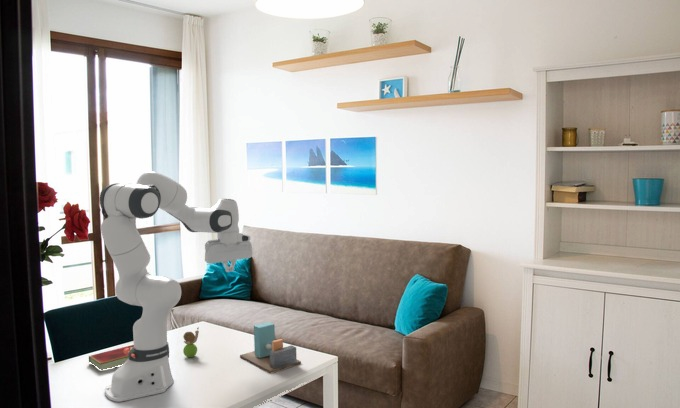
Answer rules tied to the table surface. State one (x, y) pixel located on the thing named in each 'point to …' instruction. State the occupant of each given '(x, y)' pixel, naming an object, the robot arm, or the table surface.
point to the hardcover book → (110, 358)
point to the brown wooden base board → (264, 362)
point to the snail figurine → (190, 343)
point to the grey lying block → (283, 357)
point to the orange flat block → (277, 344)
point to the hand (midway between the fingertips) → (229, 271)
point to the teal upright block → (263, 339)
